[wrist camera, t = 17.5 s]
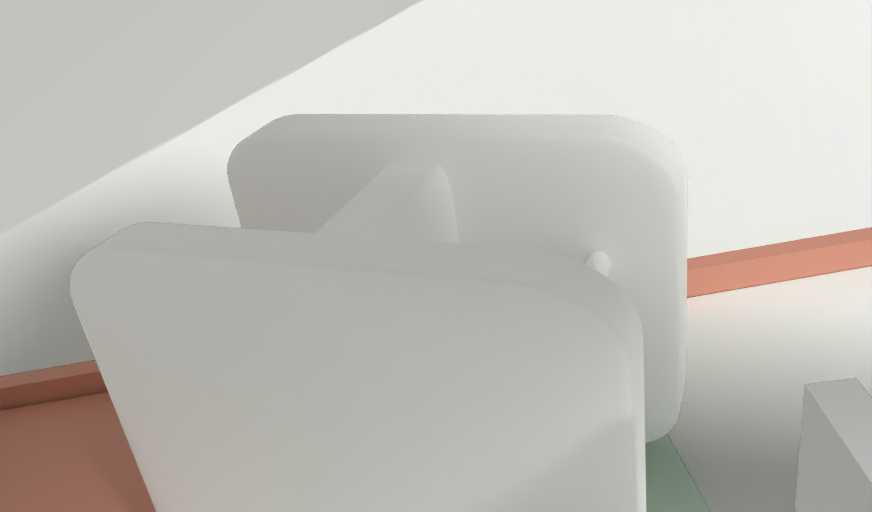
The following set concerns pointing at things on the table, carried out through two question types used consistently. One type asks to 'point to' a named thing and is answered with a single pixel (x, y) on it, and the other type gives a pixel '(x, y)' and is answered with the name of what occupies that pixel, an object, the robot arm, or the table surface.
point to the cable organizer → (405, 319)
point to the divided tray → (120, 476)
